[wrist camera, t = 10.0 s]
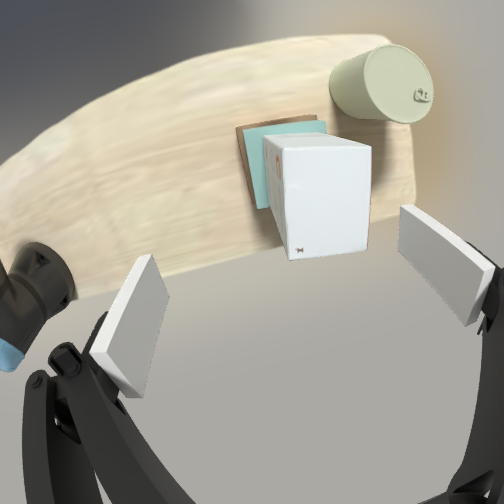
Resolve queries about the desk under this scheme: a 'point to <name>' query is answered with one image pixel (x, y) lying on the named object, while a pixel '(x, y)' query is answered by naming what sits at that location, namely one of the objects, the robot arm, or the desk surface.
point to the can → (383, 85)
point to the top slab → (257, 151)
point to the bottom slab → (262, 124)
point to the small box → (319, 193)
